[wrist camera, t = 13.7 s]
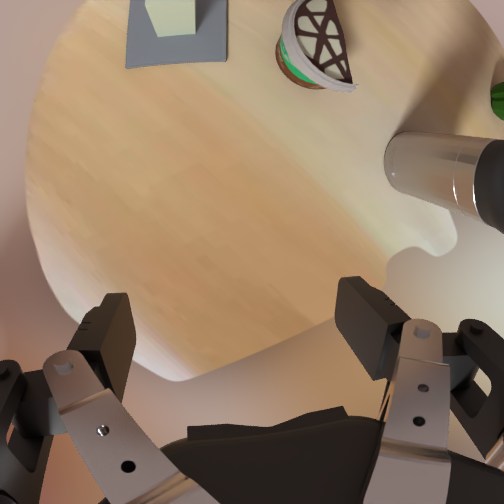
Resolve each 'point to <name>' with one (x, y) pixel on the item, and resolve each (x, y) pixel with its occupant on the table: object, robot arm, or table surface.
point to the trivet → (177, 37)
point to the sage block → (172, 16)
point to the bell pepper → (498, 100)
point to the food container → (314, 47)
